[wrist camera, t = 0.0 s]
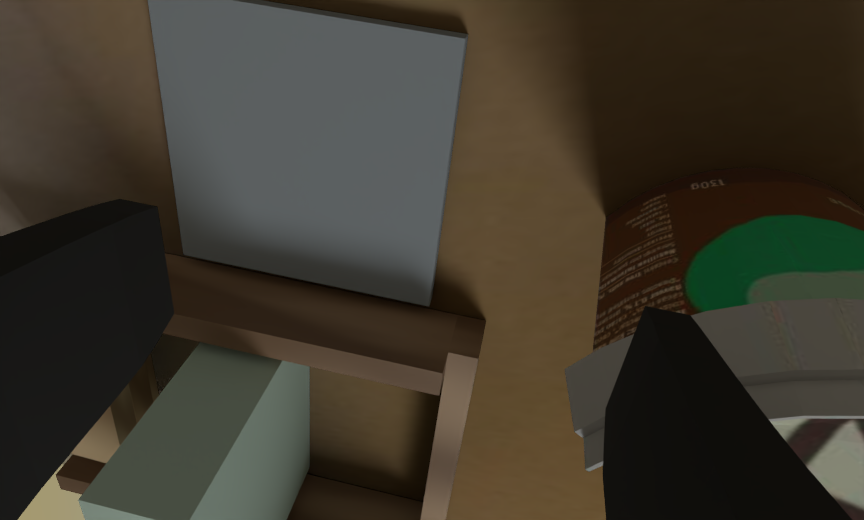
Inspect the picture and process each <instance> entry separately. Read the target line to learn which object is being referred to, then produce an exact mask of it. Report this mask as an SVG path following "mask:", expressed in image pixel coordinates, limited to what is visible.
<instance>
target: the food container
mask: <svg viewBox="0 0 864 520" xmlns="http://www.w3.org/2000/svg"><path fill="white" fill-rule="evenodd" d="M645 306H648V307H653V308H658V309H663V310H668V311H673V312H678V313H683V314H688V315H691V317H692V318H693V319H694V320H695V322H696V323H697V324H698V325H699V327H700V328H701V329H702V331H703V332H704V333H705V335H706V336H707V338H708V339H709V340H710V342H711V343H712V344H713V346H714V347H715V348H716V350H717V351H718V353H719V354H720V355H721V357H722V358H723V359H724V361H725V362H726V364H727V365H728V366H729V368H730V369H731V370H732V372H733V373H734V374H735V376H736V377H737V378H738V380H739V381H740V382H741V384H742V385H743V387H744V388H745V389H746V391H747V392H748V393H749V394H750V396H751V397H752V398H753V400H754V401H755V402H756V404H757V405H758V406H759V408H760V409H761V410H762V412H763V413H764V414H765V415H766V417H767V418H768V419H769V421H770V422H771V423H772V424H773V426H774V427H775V428H776V430H777V431H778V432H779V433H780V435H781V436H782V437H783V438H784V440H785V441H786V442H787V443H788V445H789V446H790V447H791V448H792V449H793V451H794V452H795V453H796V454H797V456H798V457H799V458H800V459H801V460H802V462H803V463H804V464H805V465H806V467H807V468H808V469H809V470H810V471H811V473H812V474H813V475H814V476H815V477H816V478H817V479H818V481H819V482H820V483H821V484H822V485H823V486H824V488H825V489H826V490H827V491H828V492H829V493H830V494H831V496H832V497H833V498H834V499H835V500H836V501H837V503H838V504H839V505H840V506H841V507H842V508H843V509H844V511H845V512H846V513H847V514H848V515H849V516H850V518H851V519H852V520H864V209H862V208H861V207H860V206H859V205H858V204H856V203H855V202H854V201H853V200H851V199H850V198H849V197H847V196H846V195H845V194H844V193H842V192H840V191H838V190H836V189H834V188H832V187H831V186H829V185H827V184H825V183H823V182H821V181H818V180H815V179H812V178H809V177H806V176H803V175H800V174H796V173H793V172H786V171H780V170H774V169H768V168H730V169H721V170H712V171H706V172H702V173H698V174H693V175H689V176H685V177H681V178H678V179H675V180H673V181H670V182H667V183H665V184H662V185H660V186H657V187H654V188H652V189H650V190H648V191H646V192H645V193H643V194H641V195H639V196H637V197H635V198H634V199H632V200H630V201H628V202H627V203H625V204H624V205H623V206H621V207H620V208H619V209H617V210H616V211H615V212H613V213H612V214H610V215H609V216H608V217H606V222H605V232H604V242H603V253H602V263H601V273H600V283H599V294H598V304H597V314H596V325H595V335H594V345H593V353H591V354H590V355H588V356H586V357H585V358H583V359H581V360H580V361H578V362H576V363H574V364H573V365H571V366H569V367H568V368H566V369H565V374H566V381H567V387H568V394H569V400H570V407H571V413H572V420H573V426H574V432H575V433H577V434H578V435H580V436H581V437H583V438H584V453H585V469H586V470H587V471H591V470H594V469H596V468H598V467H600V466H602V465H603V450H604V428H605V409H606V406H607V403H608V401H609V398H610V396H611V393H612V390H613V388H614V385H615V383H616V380H617V377H618V375H619V372H620V370H621V367H622V364H623V362H624V359H625V357H626V354H627V351H628V349H629V346H630V344H631V341H632V338H633V336H634V333H635V331H636V328H637V325H638V323H639V320H640V318H641V315H642V312H643V310H644V307H645Z"/></svg>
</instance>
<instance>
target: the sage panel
mask: <svg viewBox="0 0 864 520" xmlns="http://www.w3.org/2000/svg"><path fill="white" fill-rule="evenodd" d="M309 468H310V367H309V366H305V365H300V364H296V363H291V362H287V361H282V360H278V359H274V358H269V357H265V356H260V355H256V354H251V353H247V352H242V351H238V350H234V349H229V348H225V347H220V346H216V345H211V344H207V343H202V342H200V343H199V344H198V345H197V347H196V348H195V349H194V351H193V352H192V353H191V355H190V356H189V357H188V358H187V360H186V361H185V362H184V364H183V365H182V366H181V367H180V369H179V370H178V371H177V373H176V374H175V375H174V377H173V378H172V379H171V380H170V382H169V383H168V384H167V386H166V387H165V388H164V389H163V391H162V392H161V393H160V395H159V396H158V397H157V399H156V400H155V401H154V402H153V404H152V405H151V406H150V408H149V409H148V410H147V412H146V413H145V414H144V415H143V417H142V418H141V419H140V421H139V422H138V423H137V424H136V426H135V427H134V428H133V430H132V431H131V432H130V434H129V435H128V436H127V437H126V439H125V440H124V441H123V443H122V444H121V445H120V446H119V448H118V449H117V450H116V452H115V453H114V454H113V456H112V457H111V458H110V459H109V461H108V462H107V463H106V465H105V466H104V467H103V468H102V470H101V471H100V472H99V474H98V475H97V476H96V478H95V479H94V480H93V481H92V483H91V484H90V485H89V487H88V488H87V489H86V490H85V492H84V493H83V494H82V496H81V497H80V498H79V503H80V506H81V509H82V512H83V515H84V518H85V520H287V518H288V515H289V513H290V511H291V509H292V506H293V504H294V502H295V499H296V497H297V495H298V493H299V490H300V488H301V486H302V484H303V481H304V479H305V477H306V474H307V472H308V470H309Z"/></svg>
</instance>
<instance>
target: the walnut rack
mask: <svg viewBox="0 0 864 520" xmlns="http://www.w3.org/2000/svg"><path fill="white" fill-rule="evenodd" d="M165 258H166V264H167V270H168V277H169V283H170V289H171V295H172V302H173V308H174V315H173V316H172V318H171V320H170V322H169V323H168V325H167V327H166V328H165V330H164V332H163V334H167V335H171V336H176V337H180V338H185V339H189V340H194V341H198V342H202V343H207V344H211V345H216V346H220V347H225V348H229V349H234V350H238V351H242V352H247V353H251V354H256V355H260V356H265V357H269V358H274V359H278V360H282V361H287V362H291V363H296V364H300V365H305V366H309V367H313V368H318V369H322V370H327V371H331V372H336V373H340V374H345V375H349V376H353V377H358V378H362V379H367V380H371V381H376V382H380V383H385V384H389V385H393V386H398V387H402V388H407V389H411V390H416V391H420V392H424V393H429V394H433V395H438V396H439V394H440V390H441V386H442V383H443V387H442V393H441V399H440V405H439V411H438V417H437V423H436V429H435V435H434V441H433V447H432V453H431V459H430V465H429V471H428V477H427V483H426V489H425V495H424V501H423V502H420V501H416V500H412V499H408V498H403V497H399V496H395V495H391V494H387V493H383V492H379V491H375V490H371V489H366V488H362V487H358V486H354V485H350V484H346V483H342V482H338V481H334V480H329V479H325V478H321V477H317V476H313V475H309V474H306V477H305V479H304V481H303V484H302V486H301V488H300V490H299V493H298V495H297V497H296V499H295V502H294V504H293V506H292V509H291V511H290V513H289V515H288V518H287V520H446V515H447V510H448V505H449V500H450V495H451V491H452V486H453V481H454V476H455V471H456V466H457V461H458V456H459V451H460V447H461V442H462V437H463V432H464V427H465V422H466V417H467V412H468V408H469V403H470V398H471V393H472V388H473V383H474V378H475V373H476V369H477V364H478V359H479V354H480V349H481V344H482V339H483V334H484V329H485V324H486V321H484V320H480V319H475V318H470V317H465V316H461V315H456V314H451V313H446V312H442V311H437V310H432V309H428V308H423V307H418V306H413V305H409V304H404V303H399V302H394V301H390V300H385V299H380V298H375V297H371V296H366V295H361V294H356V293H352V292H347V291H342V290H338V289H333V288H328V287H323V286H319V285H314V284H309V283H304V282H300V281H295V280H290V279H285V278H281V277H276V276H271V275H267V274H262V273H257V272H252V271H248V270H243V269H238V268H233V267H229V266H224V265H219V264H214V263H210V262H205V261H200V260H195V259H191V258H186V257H181V256H177V255H172V254H167V253H165ZM443 379H444V381H443ZM105 465H106V463H103V462H100V461H96V460H92V459H89V458H85V457H81V456H78V455H74V454H73V455H72V456H71V457H70V459H69V460H68V461H67V462H66V463H65V464H64V466H63V467H62V468H61V469H60V470H59V472H58V473H57V474H56V477H57V480H58V483H59V485H60V488H61V489H63V490H67V491H71V492H75V493H79V494H83V493H84V492H85V490H86V489H87V488H88V487H89V485H90V484H91V483H92V481H93V480H94V479H95V478H96V476H97V475H98V474H99V472H100V471H101V470H102V468H103V467H104V466H105Z"/></svg>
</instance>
